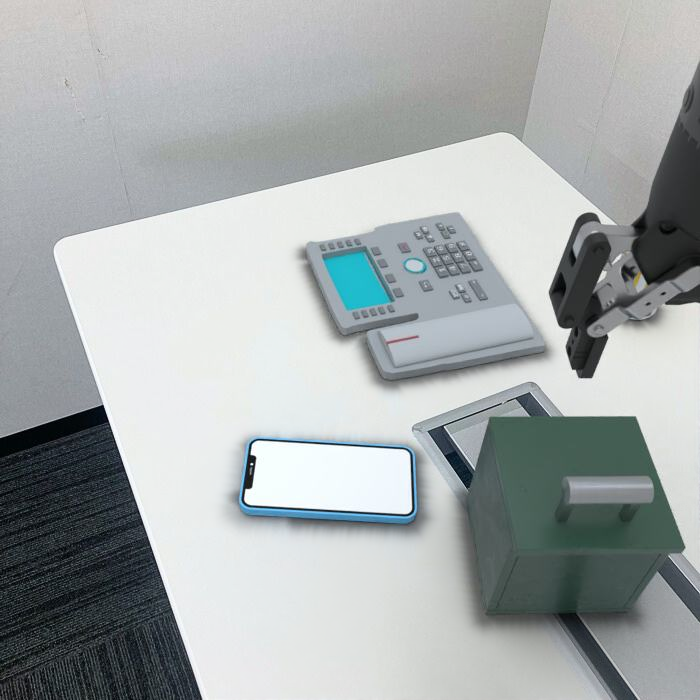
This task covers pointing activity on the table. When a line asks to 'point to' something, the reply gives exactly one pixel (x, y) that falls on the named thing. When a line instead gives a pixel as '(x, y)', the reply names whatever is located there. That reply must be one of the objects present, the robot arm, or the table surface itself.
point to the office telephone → (422, 297)
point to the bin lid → (581, 487)
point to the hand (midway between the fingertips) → (651, 368)
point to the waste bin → (544, 562)
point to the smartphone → (329, 480)
